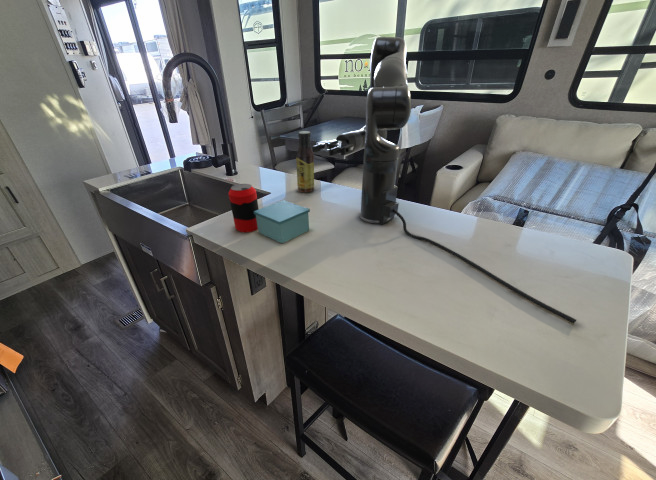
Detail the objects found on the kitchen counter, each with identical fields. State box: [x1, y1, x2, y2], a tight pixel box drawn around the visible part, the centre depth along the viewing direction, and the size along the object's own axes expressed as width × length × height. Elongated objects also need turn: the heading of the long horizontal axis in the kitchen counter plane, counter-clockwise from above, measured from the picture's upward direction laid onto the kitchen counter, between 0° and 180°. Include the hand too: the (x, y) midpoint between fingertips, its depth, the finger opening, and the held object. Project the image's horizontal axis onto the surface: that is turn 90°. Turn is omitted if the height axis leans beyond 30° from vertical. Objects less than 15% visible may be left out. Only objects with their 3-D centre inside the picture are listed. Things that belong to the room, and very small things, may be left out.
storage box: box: [254, 199, 311, 244], centre depth 87 cm, size 11×11×6 cm
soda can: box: [228, 183, 260, 233], centre depth 89 cm, size 8×8×12 cm
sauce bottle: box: [295, 130, 315, 194], centre depth 110 cm, size 7×6×20 cm
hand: (321, 151), depth 114 cm, fingers open, 8 cm apart
